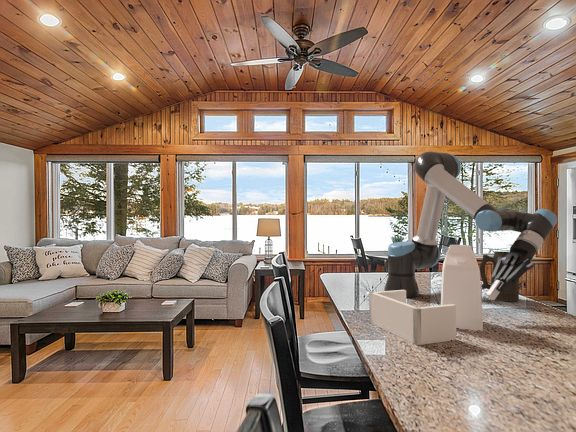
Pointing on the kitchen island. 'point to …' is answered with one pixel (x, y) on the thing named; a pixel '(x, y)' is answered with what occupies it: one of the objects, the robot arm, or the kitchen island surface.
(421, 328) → the cubby
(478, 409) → the kitchen island surface
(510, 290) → the beer stein
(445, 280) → the milk
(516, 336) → the kitchen island surface
